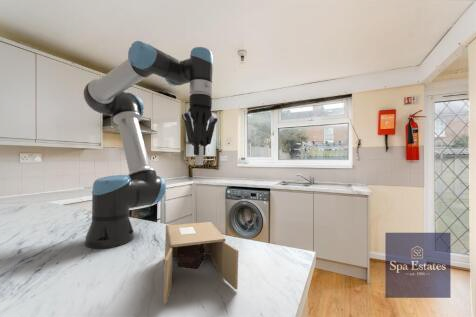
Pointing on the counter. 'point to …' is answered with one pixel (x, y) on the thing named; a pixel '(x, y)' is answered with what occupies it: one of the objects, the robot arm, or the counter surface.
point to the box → (190, 256)
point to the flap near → (168, 275)
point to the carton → (196, 240)
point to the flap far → (230, 265)
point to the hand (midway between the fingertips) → (199, 164)
